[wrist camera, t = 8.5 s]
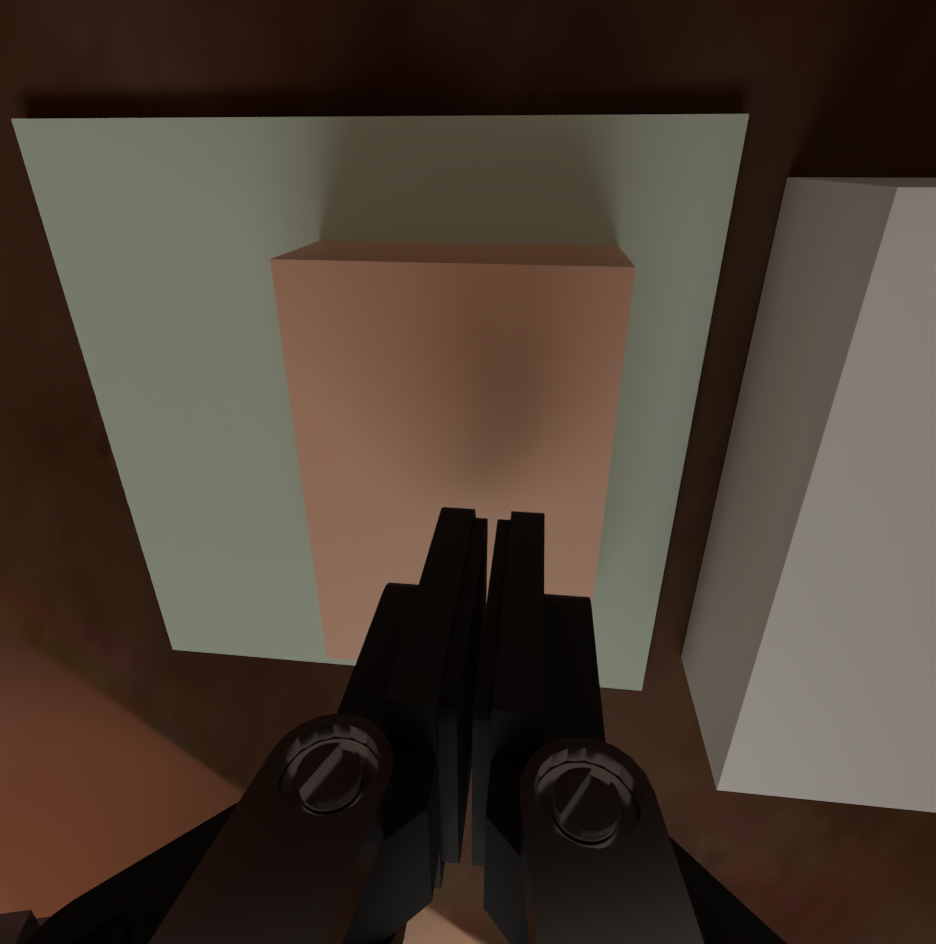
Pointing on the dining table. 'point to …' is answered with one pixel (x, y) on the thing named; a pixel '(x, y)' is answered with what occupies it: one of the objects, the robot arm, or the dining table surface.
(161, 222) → the mat
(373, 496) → the salmon rectangular block
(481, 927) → the dining table surface
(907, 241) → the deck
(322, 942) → the robot arm
